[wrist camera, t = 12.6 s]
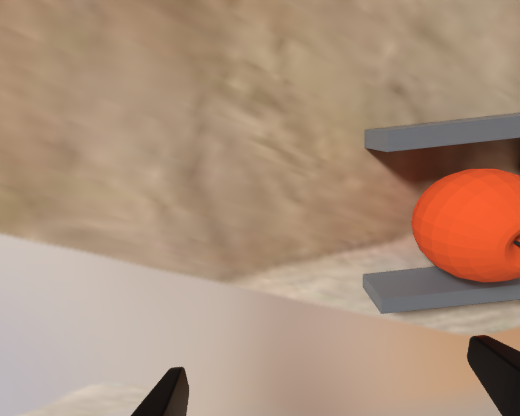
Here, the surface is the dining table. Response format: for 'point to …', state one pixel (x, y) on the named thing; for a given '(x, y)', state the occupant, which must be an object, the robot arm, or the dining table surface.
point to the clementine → (471, 224)
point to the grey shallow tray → (434, 278)
